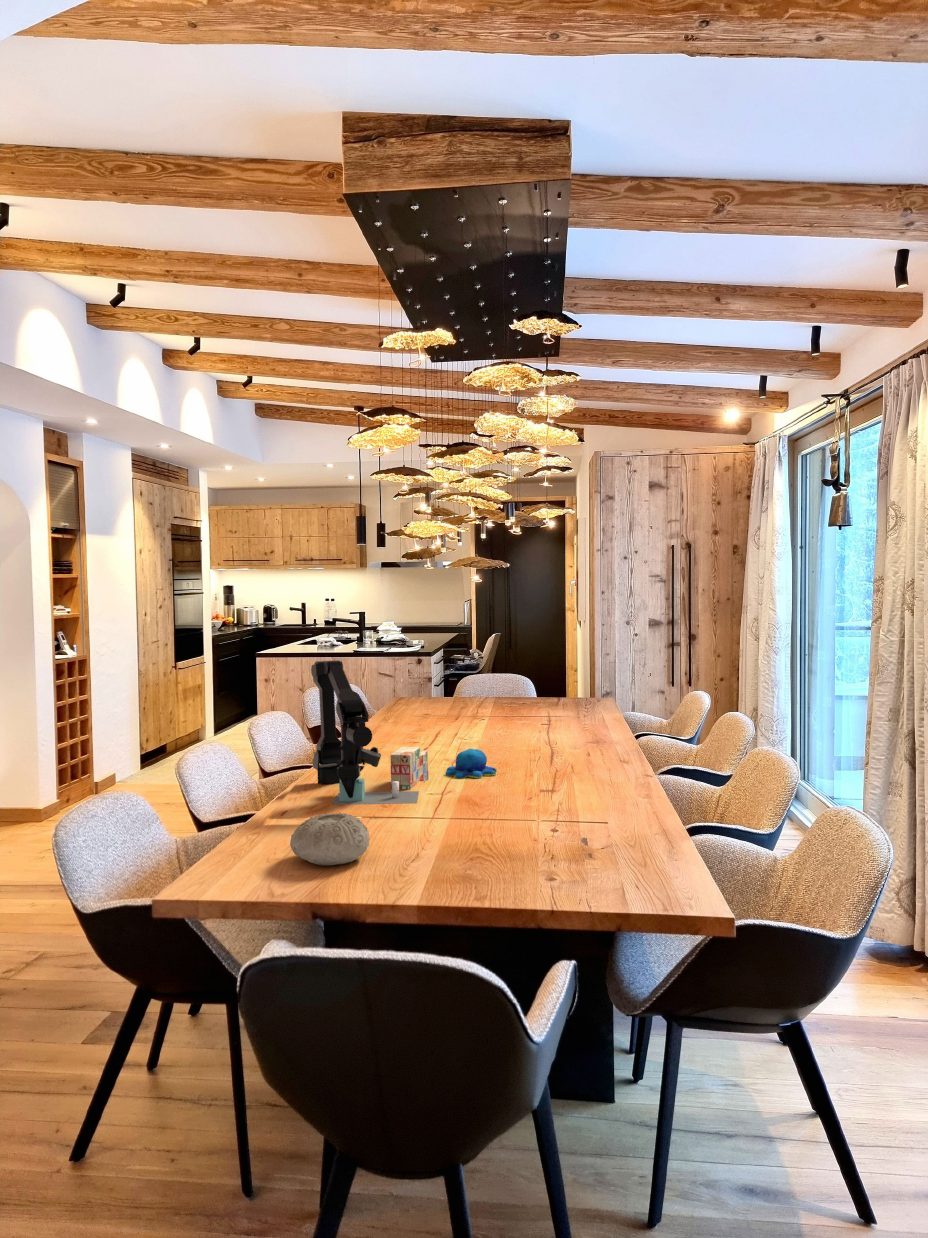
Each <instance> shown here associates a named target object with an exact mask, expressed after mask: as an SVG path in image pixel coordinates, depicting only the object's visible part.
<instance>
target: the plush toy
mask: <svg viewBox="0 0 928 1238" xmlns="http://www.w3.org/2000/svg"><path fill="white" fill-rule="evenodd" d="M487 762H488V758H487V755H486V753H485V752H483V750H480V749H477V748H476V749H474V748H468V749H465V750H462V751H460V752H459V753H458V754H457V755H456V759H455V765H453V766H448V767H447V768H446V772H445V774H446V775H449V776H448V777H453V778H454V779H458V780H460V779H461V780H462V778H463V779H466V778H467V777H469V778H471V779H472V778H474V779H481V778H483V776H485V777H491V776H496V775H497V771H498V770H497V768H495V767H493V766H488V765H487ZM446 775H445V776H446Z"/></svg>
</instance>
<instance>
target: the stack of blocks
mask: <svg viewBox="0 0 928 1238" xmlns="http://www.w3.org/2000/svg"><path fill="white" fill-rule="evenodd" d="M428 756H429V755H428V750H421V747H420V746H401V747H399V748H398V749H397V750H395V751H394V752H392V753H390V757H389V758H390V783H391V784H390V789H391V790H392V782H393V781H398V782H399V790H412V789H414V787H415V786H417V785H418V784H419V783H420V782H423V783H425V782H427V781H428V780H429V760H428V758H429V757H428Z"/></svg>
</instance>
